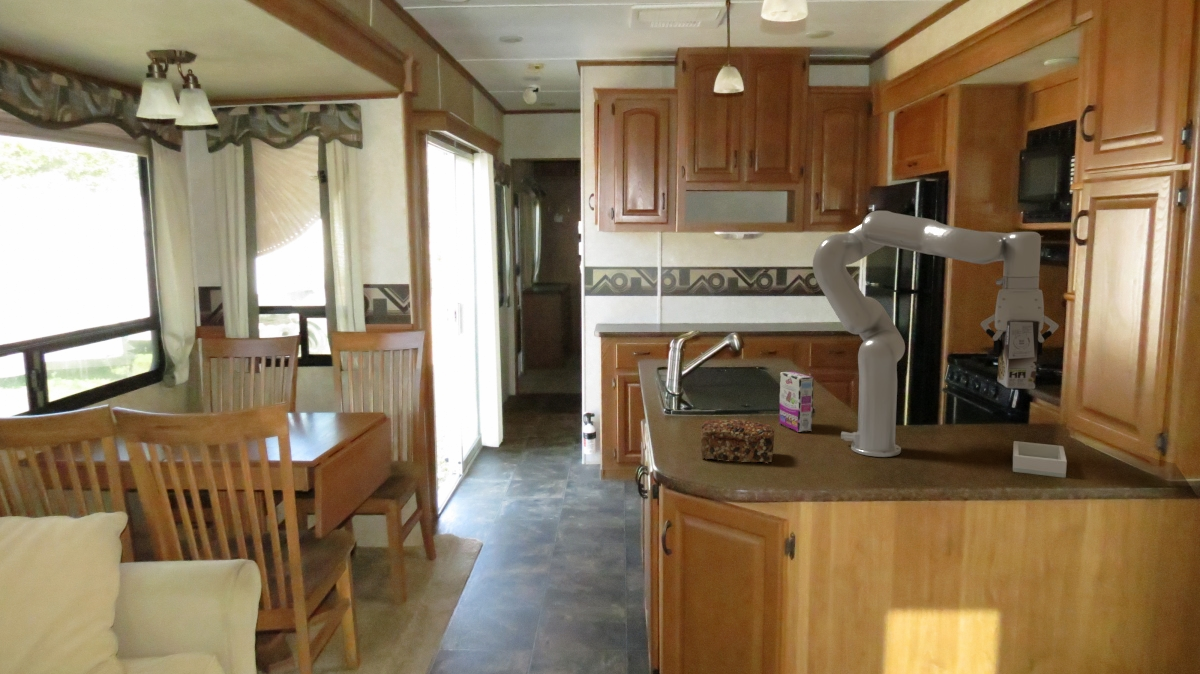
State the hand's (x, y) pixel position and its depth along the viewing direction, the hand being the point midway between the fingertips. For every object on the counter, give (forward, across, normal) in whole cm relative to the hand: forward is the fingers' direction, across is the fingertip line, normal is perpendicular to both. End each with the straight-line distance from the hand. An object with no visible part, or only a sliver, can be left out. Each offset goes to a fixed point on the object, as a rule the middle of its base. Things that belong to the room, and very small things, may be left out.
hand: (1017, 356), depth 183 cm
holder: (+28, +6, +6) cm, 29 cm away
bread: (+28, -64, -20) cm, 72 cm away
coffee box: (+7, 0, 0) cm, 7 cm away
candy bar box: (+28, -58, +15) cm, 66 cm away
